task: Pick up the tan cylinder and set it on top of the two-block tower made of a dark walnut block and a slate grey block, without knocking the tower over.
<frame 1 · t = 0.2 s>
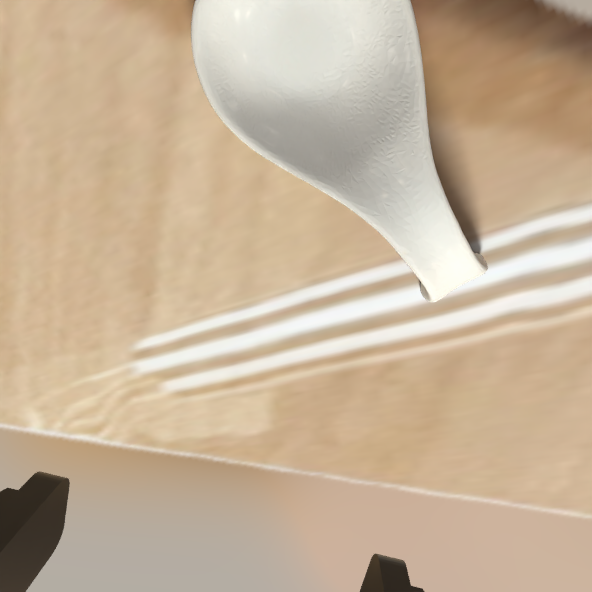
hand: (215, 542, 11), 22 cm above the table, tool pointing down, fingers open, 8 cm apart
spoon rest: (359, 133, 29), on the table
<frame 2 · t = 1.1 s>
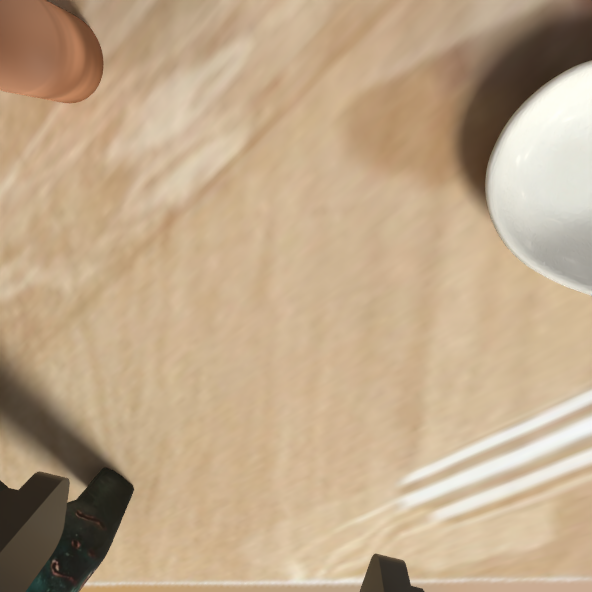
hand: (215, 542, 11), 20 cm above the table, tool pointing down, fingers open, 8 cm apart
ceramic cat: (37, 427, 36), on the table
tan cylinder: (63, 58, 27), on the table
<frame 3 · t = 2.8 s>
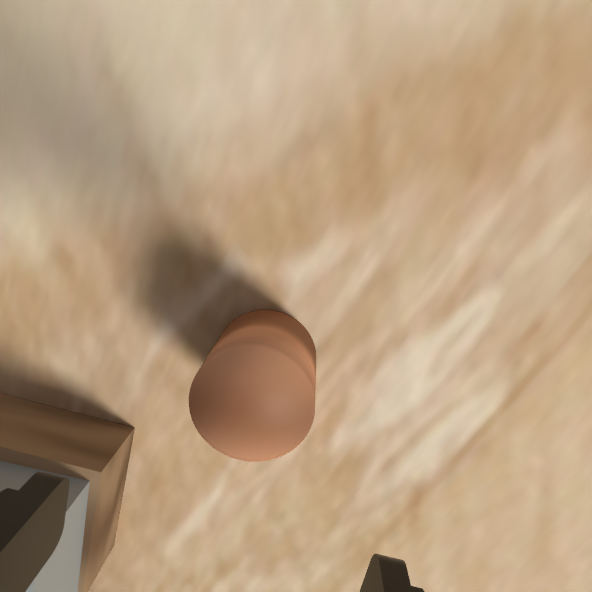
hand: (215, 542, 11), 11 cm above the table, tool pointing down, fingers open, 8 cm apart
tower base: (56, 468, 25), on the table, touching tower top
tower top: (11, 525, 21), point 4 cm above the table, touching tower base
tan cylinder: (266, 356, 22), on the table
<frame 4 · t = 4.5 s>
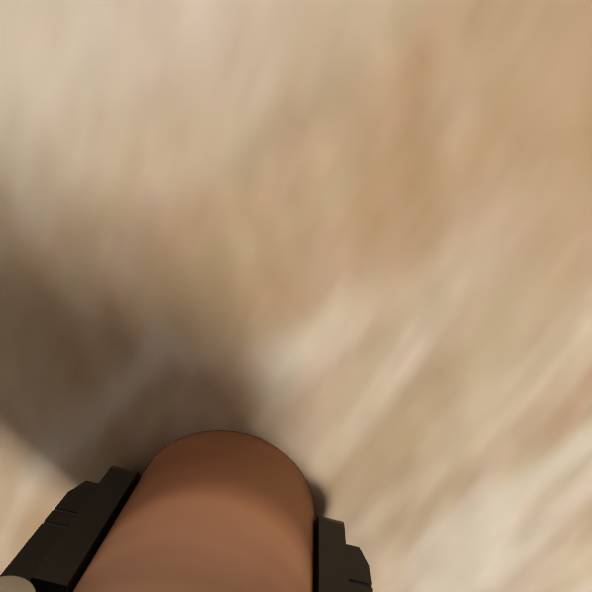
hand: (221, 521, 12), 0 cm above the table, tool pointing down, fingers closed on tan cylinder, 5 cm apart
tan cylinder: (225, 509, 12), on the table, touching gripper
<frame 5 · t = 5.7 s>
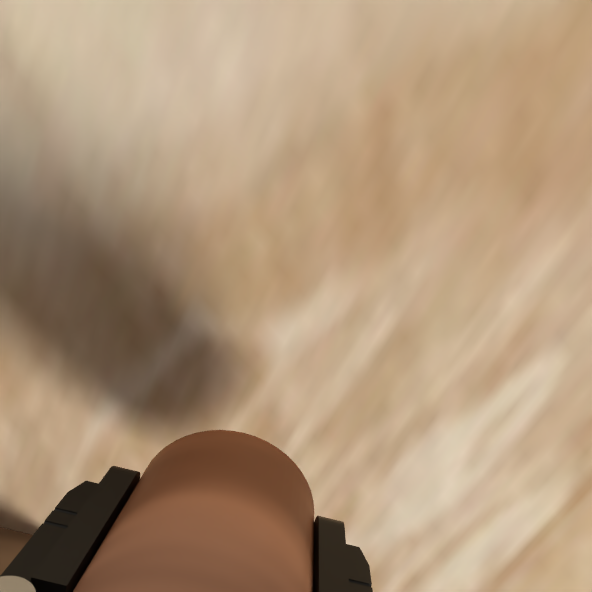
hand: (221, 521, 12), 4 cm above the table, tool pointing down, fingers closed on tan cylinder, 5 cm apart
tan cylinder: (225, 509, 13), point 4 cm above the table, touching gripper
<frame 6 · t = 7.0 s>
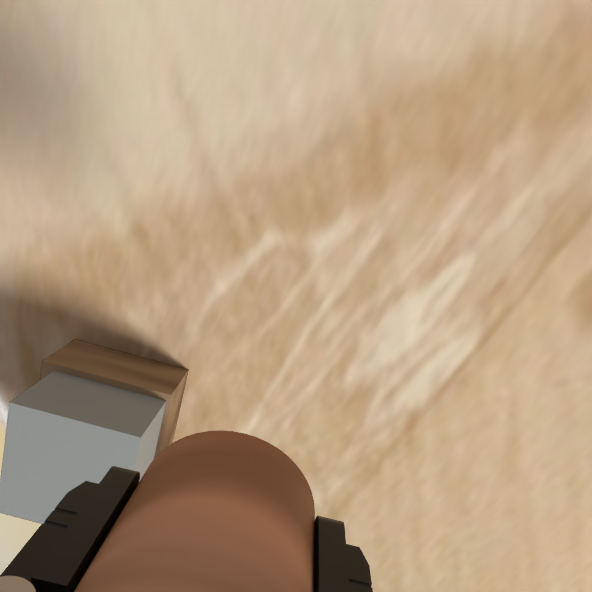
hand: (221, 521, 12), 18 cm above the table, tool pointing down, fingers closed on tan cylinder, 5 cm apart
tower base: (124, 403, 32), on the table, touching tower top
tower top: (101, 435, 28), point 4 cm above the table, touching tower base
tan cylinder: (226, 509, 13), point 17 cm above the table, touching gripper
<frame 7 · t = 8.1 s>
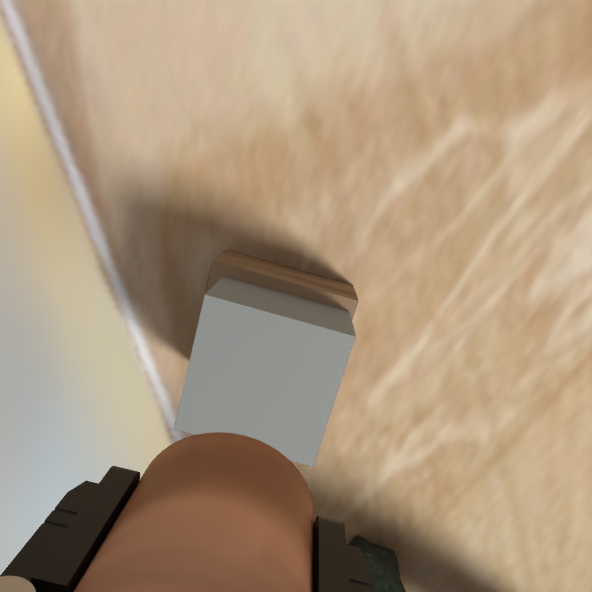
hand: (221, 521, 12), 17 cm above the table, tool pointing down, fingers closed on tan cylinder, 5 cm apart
tower base: (274, 326, 28), on the table, touching tower top
ceramic cat: (445, 588, 33), on the table
tower top: (270, 352, 25), point 4 cm above the table, touching tower base
tan cylinder: (224, 511, 12), point 16 cm above the table, touching gripper
when the fingers open (10 cm above the table, at t = 10.1 s): tan cylinder drops 2 cm, resting on tower top.
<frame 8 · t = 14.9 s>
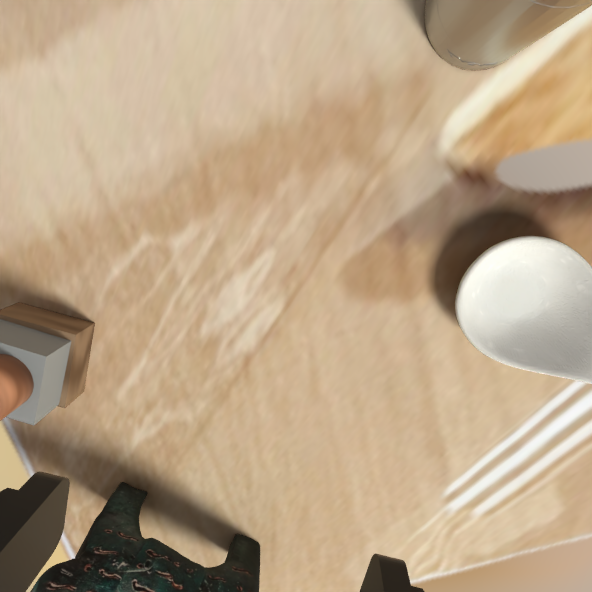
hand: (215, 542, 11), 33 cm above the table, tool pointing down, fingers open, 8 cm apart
spoon rest: (557, 322, 44), on the table
tower base: (53, 346, 47), on the table, touching tower top
ceramic cat: (184, 517, 51), on the table
tower top: (30, 362, 43), point 4 cm above the table, touching tan cylinder, tower base
tan cylinder: (5, 380, 39), point 8 cm above the table, touching tower top
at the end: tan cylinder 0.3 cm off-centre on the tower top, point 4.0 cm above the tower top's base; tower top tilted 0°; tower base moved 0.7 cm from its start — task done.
